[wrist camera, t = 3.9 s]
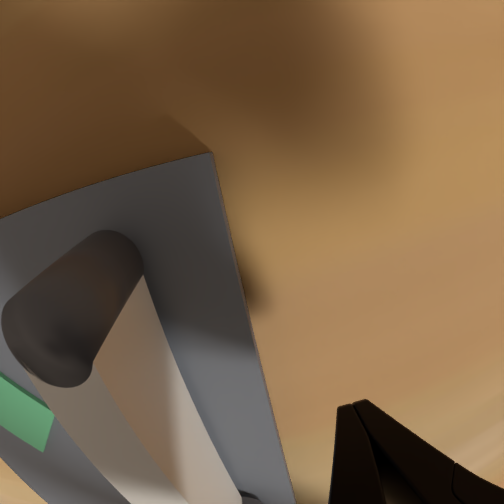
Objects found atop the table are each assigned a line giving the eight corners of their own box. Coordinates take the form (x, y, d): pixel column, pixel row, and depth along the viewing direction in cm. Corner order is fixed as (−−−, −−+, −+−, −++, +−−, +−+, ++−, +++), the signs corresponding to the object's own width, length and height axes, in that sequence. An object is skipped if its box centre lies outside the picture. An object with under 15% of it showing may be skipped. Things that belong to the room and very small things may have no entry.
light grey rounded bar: (270, 516, 12) (277, 572, 9) (209, 521, 12) (209, 576, 9) (159, 214, 7) (104, 275, 4) (50, 244, 7) (-36, 306, 4)
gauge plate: (295, 499, 14) (299, 518, 13) (62, 499, 14) (57, 514, 13) (212, 151, 8) (208, 152, 7) (-93, 265, 8) (-110, 275, 7)
